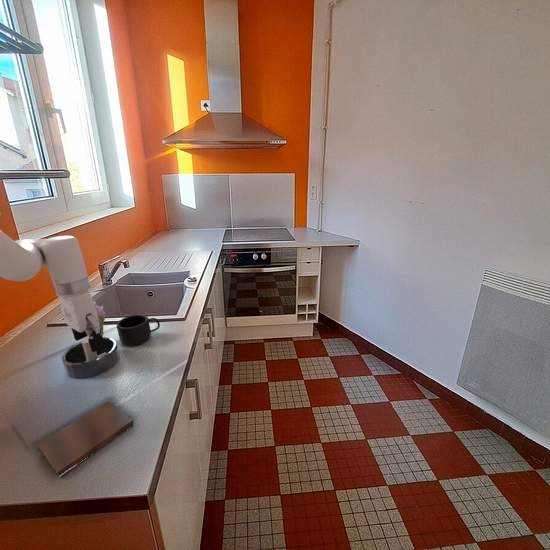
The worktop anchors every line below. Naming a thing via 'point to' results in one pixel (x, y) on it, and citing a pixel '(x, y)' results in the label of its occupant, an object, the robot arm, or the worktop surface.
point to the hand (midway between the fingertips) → (89, 343)
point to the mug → (135, 329)
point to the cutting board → (84, 437)
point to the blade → (88, 352)
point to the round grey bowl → (81, 369)
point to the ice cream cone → (99, 316)
